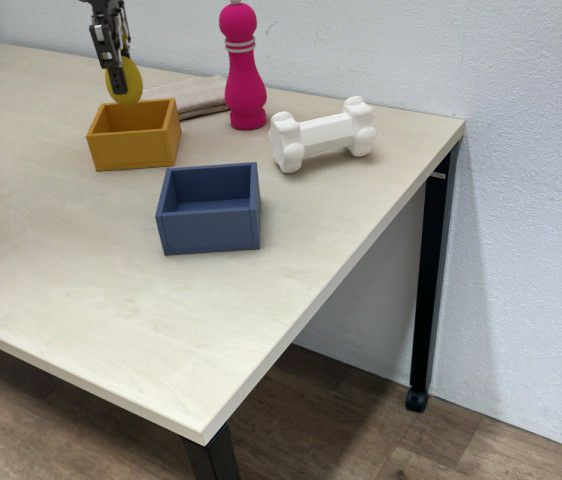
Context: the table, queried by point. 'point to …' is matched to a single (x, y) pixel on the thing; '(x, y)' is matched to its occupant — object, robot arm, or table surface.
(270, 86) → the table surface
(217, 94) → the washcloth
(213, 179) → the blue bin
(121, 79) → the robot arm
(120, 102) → the lemon
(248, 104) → the pepper mill
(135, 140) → the ochre bin
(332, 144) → the white bone
